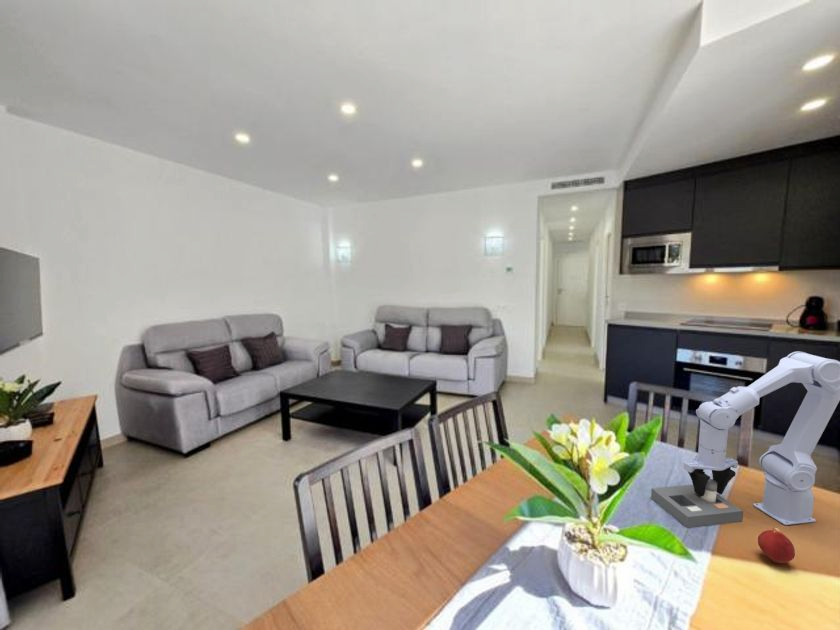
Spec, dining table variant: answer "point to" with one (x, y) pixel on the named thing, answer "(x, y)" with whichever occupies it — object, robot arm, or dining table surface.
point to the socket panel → (695, 507)
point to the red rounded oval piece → (776, 546)
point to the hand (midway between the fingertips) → (708, 493)
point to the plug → (710, 492)
